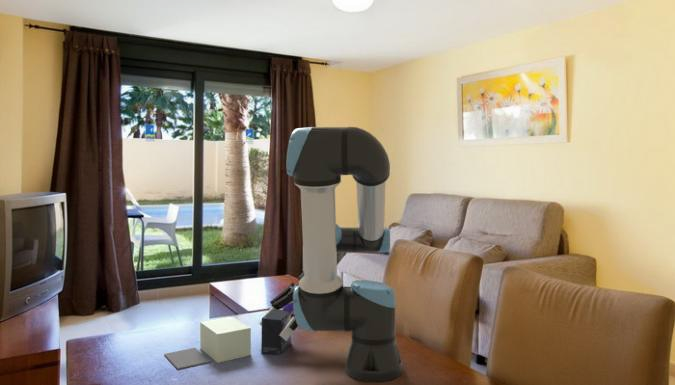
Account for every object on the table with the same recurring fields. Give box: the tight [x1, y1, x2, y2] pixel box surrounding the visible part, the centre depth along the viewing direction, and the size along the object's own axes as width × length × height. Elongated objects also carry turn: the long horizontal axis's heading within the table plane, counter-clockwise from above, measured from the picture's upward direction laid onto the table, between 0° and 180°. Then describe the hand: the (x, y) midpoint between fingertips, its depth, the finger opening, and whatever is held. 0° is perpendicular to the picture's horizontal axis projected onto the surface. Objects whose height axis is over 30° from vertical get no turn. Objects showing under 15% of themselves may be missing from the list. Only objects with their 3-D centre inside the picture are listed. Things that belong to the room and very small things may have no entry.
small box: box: [260, 309, 292, 355], centre depth 146 cm, size 11×6×10 cm, turn 168°
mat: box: [163, 347, 211, 371], centre depth 138 cm, size 13×9×1 cm
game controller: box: [282, 301, 294, 316], centre depth 180 cm, size 10×8×10 cm
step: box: [199, 316, 252, 364], centre depth 143 cm, size 14×10×8 cm
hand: (271, 332), depth 146 cm, fingers open, 13 cm apart
